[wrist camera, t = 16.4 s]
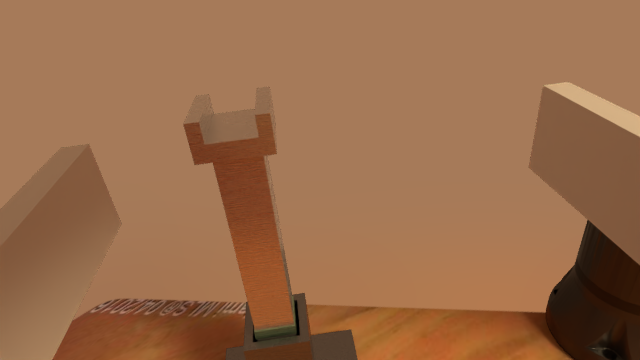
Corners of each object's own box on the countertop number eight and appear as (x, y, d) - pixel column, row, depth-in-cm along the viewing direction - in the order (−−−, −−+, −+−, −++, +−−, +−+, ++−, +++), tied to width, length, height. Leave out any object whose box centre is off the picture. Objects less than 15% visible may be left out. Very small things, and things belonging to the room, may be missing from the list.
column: (308, 334, 46) (269, 86, 32) (313, 380, 41) (270, 112, 27) (258, 342, 46) (195, 95, 32) (256, 389, 41) (183, 124, 27)
